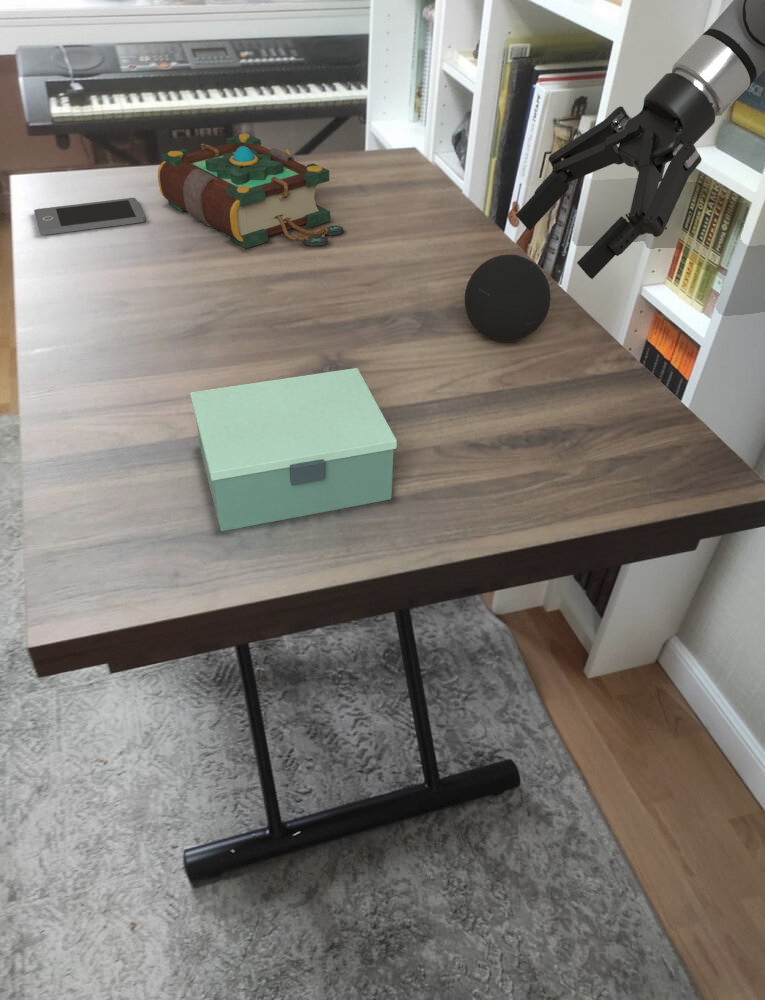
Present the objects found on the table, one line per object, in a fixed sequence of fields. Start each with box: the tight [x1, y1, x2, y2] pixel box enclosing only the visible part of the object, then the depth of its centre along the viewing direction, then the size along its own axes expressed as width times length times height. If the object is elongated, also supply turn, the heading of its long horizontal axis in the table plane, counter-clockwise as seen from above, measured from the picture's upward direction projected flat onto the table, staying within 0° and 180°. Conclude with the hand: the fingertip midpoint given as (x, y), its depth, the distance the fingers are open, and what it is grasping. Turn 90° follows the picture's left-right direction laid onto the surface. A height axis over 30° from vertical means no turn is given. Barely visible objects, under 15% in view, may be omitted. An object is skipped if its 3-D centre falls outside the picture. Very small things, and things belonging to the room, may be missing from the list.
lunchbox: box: [189, 367, 398, 532], centre depth 78 cm, size 16×13×7 cm
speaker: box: [464, 254, 552, 343], centre depth 98 cm, size 10×10×10 cm
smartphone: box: [33, 197, 146, 236], centre depth 124 cm, size 15×8×1 cm, turn 113°
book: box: [157, 133, 344, 249], centre depth 123 cm, size 27×21×10 cm
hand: (551, 246), depth 96 cm, fingers open, 13 cm apart
